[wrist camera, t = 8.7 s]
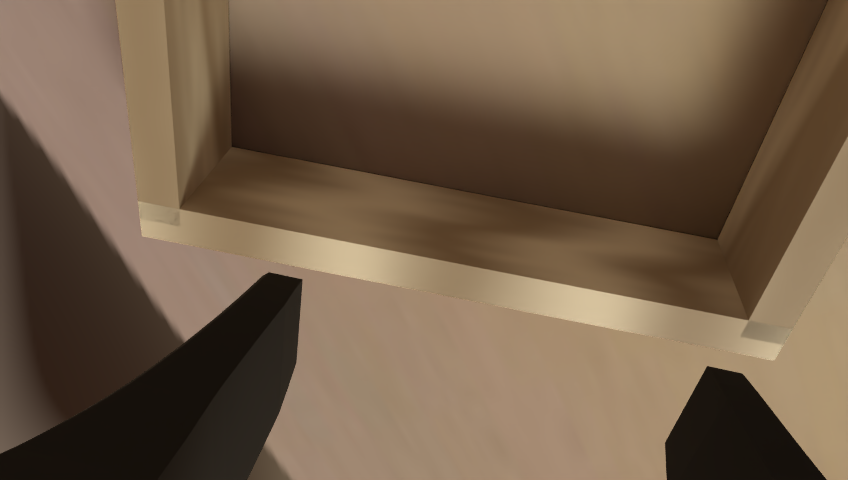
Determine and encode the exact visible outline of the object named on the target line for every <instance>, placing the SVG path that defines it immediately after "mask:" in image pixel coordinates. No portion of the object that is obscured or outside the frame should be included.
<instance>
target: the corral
mask: <svg viewBox="0 0 848 480" xmlns="http://www.w3.org/2000/svg"><path fill="white" fill-rule="evenodd" d="M115 4H116V13H117V21H118V30H119V39H120V48H121V56H122V65H123V74H124V83H125V92H126V100H127V109H128V118H129V127H130V135H131V144H132V153H133V162H134V171H135V179H136V188H137V197H138V206H139V214H140V223H141V232H142V236H144V237H149V238H155V239H160V240H165V241H170V242H175V243H180V244H185V245H190V246H195V247H200V248H205V249H210V250H215V251H220V252H225V253H231V254H236V255H241V256H246V257H251V258H256V259H261V260H266V261H271V262H276V263H281V264H286V265H291V266H296V267H302V268H307V269H312V270H317V271H322V272H327V273H332V274H337V275H342V276H347V277H352V278H357V279H362V280H367V281H372V282H378V283H383V284H388V285H393V286H398V287H403V288H408V289H413V290H418V291H423V292H428V293H433V294H438V295H443V296H448V297H454V298H459V299H464V300H469V301H474V302H479V303H484V304H489V305H494V306H499V307H504V308H509V309H514V310H519V311H524V312H530V313H535V314H540V315H545V316H550V317H555V318H560V319H565V320H570V321H575V322H580V323H585V324H590V325H595V326H600V327H606V328H611V329H616V330H621V331H626V332H631V333H636V334H641V335H646V336H651V337H656V338H661V339H666V340H671V341H676V342H682V343H687V344H692V345H697V346H702V347H707V348H712V349H717V350H722V351H727V352H732V353H737V354H742V355H747V356H752V357H758V358H763V359H768V360H773V361H774V360H775V358H776V357H777V355H778V353H779V352H780V350H781V348H782V347H783V345H784V343H785V341H786V340H787V338H788V336H789V335H790V333H791V331H792V330H793V328H794V326H795V325H796V323H797V321H798V320H799V318H800V316H801V314H802V313H803V311H804V309H805V308H806V306H807V304H808V303H809V301H810V299H811V298H812V296H813V294H814V292H815V291H816V289H817V287H818V286H819V284H820V282H821V281H822V279H823V277H824V276H825V274H826V272H827V271H828V269H829V267H830V265H831V264H832V262H833V260H834V259H835V257H836V255H837V254H838V252H839V250H840V249H841V247H842V245H843V243H844V242H845V240H846V238H847V237H848V0H828V2H827V4H826V6H825V9H824V11H823V13H822V15H821V17H820V19H819V22H818V24H817V26H816V28H815V30H814V32H813V34H812V37H811V39H810V41H809V43H808V45H807V47H806V50H805V52H804V54H803V56H802V58H801V60H800V63H799V65H798V67H797V69H796V71H795V73H794V76H793V78H792V80H791V82H790V84H789V86H788V88H787V91H786V93H785V95H784V97H783V99H782V101H781V104H780V106H779V108H778V110H777V112H776V114H775V117H774V119H773V121H772V123H771V125H770V127H769V129H768V132H767V134H766V136H765V138H764V140H763V142H762V145H761V147H760V149H759V151H758V153H757V155H756V158H755V160H754V162H753V164H752V166H751V168H750V171H749V173H748V175H747V177H746V179H745V181H744V183H743V186H742V188H741V190H740V192H739V194H738V196H737V199H736V201H735V203H734V205H733V207H732V209H731V212H730V214H729V216H728V218H727V220H726V222H725V225H724V227H723V229H722V231H721V233H720V235H719V237H718V240H716V239H710V238H705V237H700V236H695V235H689V234H684V233H679V232H674V231H669V230H663V229H658V228H653V227H648V226H642V225H637V224H632V223H627V222H622V221H616V220H611V219H606V218H601V217H595V216H590V215H585V214H580V213H575V212H569V211H564V210H559V209H554V208H548V207H543V206H538V205H533V204H528V203H522V202H517V201H512V200H507V199H501V198H496V197H491V196H486V195H481V194H475V193H470V192H465V191H460V190H454V189H449V188H444V187H439V186H434V185H428V184H423V183H418V182H413V181H407V180H402V179H397V178H392V177H387V176H381V175H376V174H371V173H366V172H360V171H355V170H350V169H345V168H340V167H334V166H329V165H324V164H319V163H313V162H308V161H303V160H298V159H293V158H287V157H282V156H277V155H272V154H266V153H261V152H256V151H251V150H246V149H240V148H235V147H232V140H231V95H230V50H229V5H228V0H115Z"/></svg>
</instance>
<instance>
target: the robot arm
mask: <svg viewBox="0 0 848 480" xmlns="http://www.w3.org/2000/svg"><path fill="white" fill-rule="evenodd" d="M301 292H302V279H298V278H293V277H288V276H284V275H279V274H274V273H270V272H269V273H267V274H265V275H264V276H262V277H261V278H260V279H259V280H258V281H257V282H256V283H254V284H253V285H252V286H251V287H250V288H249V289H248V290H247V291H246V292H245V293H243V294H242V295H241V296H240V297H239V298H238V299H237V300H236V301H234V302H233V303H232V304H231V305H230V306H229V307H228V308H226V309H225V310H224V311H223V312H222V313H221V314H219V315H218V316H217V317H216V318H215V319H213V320H212V321H211V322H210V323H209V324H207V325H206V326H205V327H204V328H202V329H201V330H200V331H199V332H197V333H196V334H195V335H194V336H192V337H191V338H190V339H189V340H187V341H186V342H185V343H184V344H182V345H181V346H180V347H178V348H177V349H176V350H174V351H173V352H171V353H170V354H169V355H167V356H166V357H165V358H163V359H162V360H161V361H160V362H158V363H156V364H155V365H154V366H152V367H151V368H149V369H148V370H147V371H145V372H144V373H142V374H141V375H140V376H138V377H137V378H135V379H134V380H132V381H131V382H129V383H128V384H126V385H125V386H123V387H122V388H120V389H118V390H117V391H115V392H114V393H112V394H110V395H109V396H107V397H105V398H104V399H102V400H101V401H99V402H97V403H96V404H94V405H92V406H91V407H89V408H87V409H86V410H84V411H82V412H80V413H78V414H77V415H75V416H73V417H71V418H69V419H68V420H66V421H64V422H62V423H60V424H59V425H57V426H55V427H53V428H51V429H50V430H48V431H46V432H44V433H42V434H40V435H38V436H36V437H34V438H32V439H30V440H28V441H26V442H25V443H22V444H20V445H18V446H16V447H14V448H12V449H10V450H8V451H5V452H3V453H1V454H0V480H247V479H248V477H249V475H250V473H251V471H252V469H253V466H254V464H255V462H256V460H257V458H258V456H259V454H260V452H261V450H262V448H263V446H264V444H265V442H266V439H267V437H268V435H269V433H270V431H271V429H272V427H273V425H274V423H275V420H276V418H277V416H278V414H279V412H280V409H281V406H282V403H283V400H284V397H285V395H286V392H287V389H288V386H289V383H290V380H291V377H292V374H293V371H294V368H295V365H296V359H297V346H298V333H299V319H300V306H301ZM665 450H666V473H667V480H826V478H825V477H824V476H823V475H822V473H821V472H820V471H819V470H818V468H817V467H816V466H815V465H814V464H813V462H812V461H811V460H810V459H809V457H808V456H807V455H806V454H805V452H804V451H803V450H802V448H801V447H800V446H799V445H798V443H797V442H796V441H795V440H794V438H793V437H792V436H791V434H790V433H789V432H788V431H787V429H786V428H785V427H784V425H783V424H782V423H781V422H780V420H779V419H778V418H777V416H776V415H775V414H774V413H773V411H772V410H771V409H770V407H769V406H768V405H767V404H766V402H765V401H764V400H763V398H762V397H761V396H760V395H759V393H758V392H757V391H756V390H755V388H754V387H753V386H752V385H751V383H750V382H749V381H748V380H747V379H746V377H745V376H744V375H743V374H742V373H737V372H732V371H728V370H723V369H718V368H714V367H709V366H707V368H706V369H705V371H704V373H703V375H702V377H701V379H700V380H699V382H698V384H697V386H696V388H695V389H694V391H693V393H692V395H691V397H690V399H689V400H688V402H687V404H686V406H685V408H684V409H683V411H682V413H681V415H680V417H679V419H678V420H677V422H676V424H675V426H674V428H673V429H672V431H671V433H670V435H669V437H668V439H667V440H666V442H665Z"/></svg>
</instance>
